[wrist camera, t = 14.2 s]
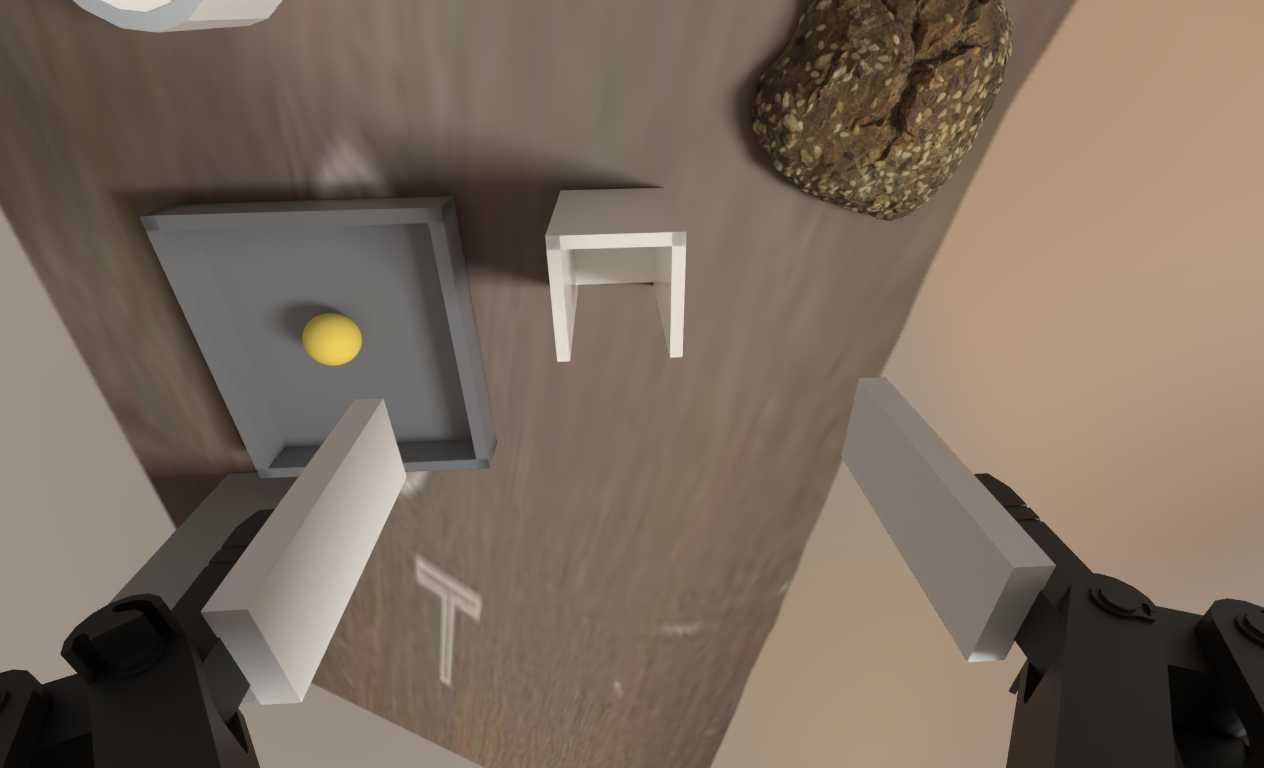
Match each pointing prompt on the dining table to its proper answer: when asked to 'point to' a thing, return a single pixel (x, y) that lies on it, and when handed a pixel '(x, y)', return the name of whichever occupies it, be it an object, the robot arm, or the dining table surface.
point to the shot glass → (180, 13)
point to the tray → (344, 284)
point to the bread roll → (881, 98)
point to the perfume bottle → (205, 537)
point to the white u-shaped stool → (616, 254)
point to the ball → (332, 339)
